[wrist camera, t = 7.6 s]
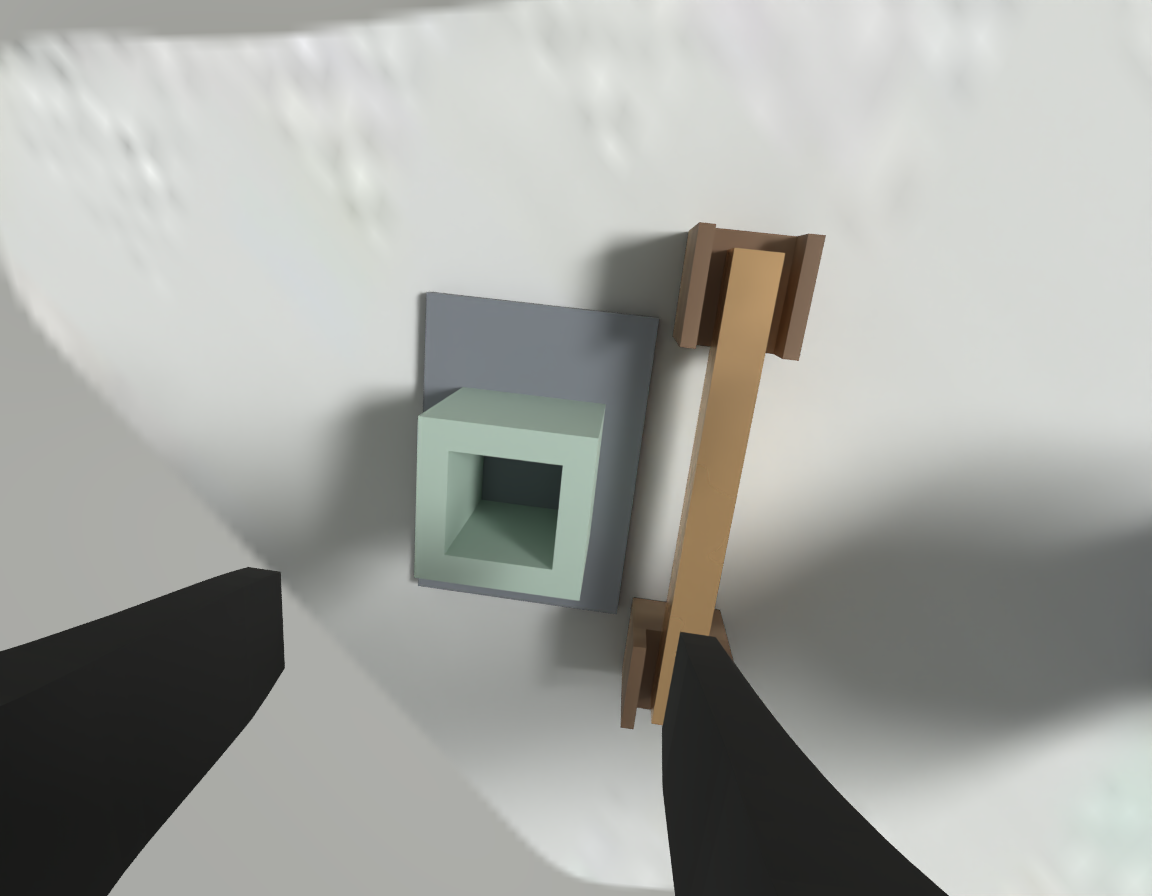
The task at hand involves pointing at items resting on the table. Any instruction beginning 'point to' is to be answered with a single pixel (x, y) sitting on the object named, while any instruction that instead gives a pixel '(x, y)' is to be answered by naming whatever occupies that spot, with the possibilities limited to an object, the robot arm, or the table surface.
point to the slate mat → (557, 370)
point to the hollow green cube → (494, 529)
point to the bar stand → (697, 329)
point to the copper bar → (717, 452)
